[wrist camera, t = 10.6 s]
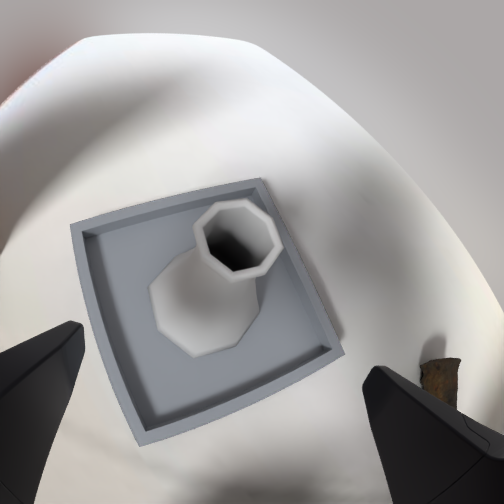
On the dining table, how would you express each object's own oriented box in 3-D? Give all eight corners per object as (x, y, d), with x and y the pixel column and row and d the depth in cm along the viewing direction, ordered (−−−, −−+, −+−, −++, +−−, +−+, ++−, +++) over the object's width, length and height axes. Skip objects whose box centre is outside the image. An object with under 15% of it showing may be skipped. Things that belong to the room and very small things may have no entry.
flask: (275, 317, 20) (361, 267, 11) (189, 377, 17) (215, 384, 8) (217, 235, 21) (257, 138, 13) (129, 283, 18) (103, 201, 9)
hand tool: (413, 361, 23) (449, 354, 19) (437, 361, 24) (472, 354, 20) (385, 533, 15) (416, 546, 11) (412, 522, 16) (443, 531, 12)
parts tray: (141, 439, 15) (139, 446, 13) (76, 237, 19) (69, 224, 17) (330, 356, 21) (345, 354, 19) (253, 191, 25) (260, 177, 23)
